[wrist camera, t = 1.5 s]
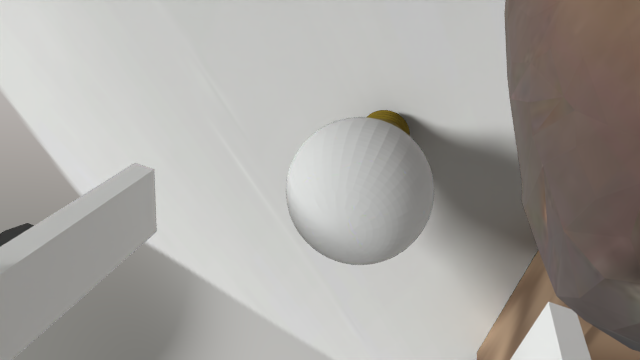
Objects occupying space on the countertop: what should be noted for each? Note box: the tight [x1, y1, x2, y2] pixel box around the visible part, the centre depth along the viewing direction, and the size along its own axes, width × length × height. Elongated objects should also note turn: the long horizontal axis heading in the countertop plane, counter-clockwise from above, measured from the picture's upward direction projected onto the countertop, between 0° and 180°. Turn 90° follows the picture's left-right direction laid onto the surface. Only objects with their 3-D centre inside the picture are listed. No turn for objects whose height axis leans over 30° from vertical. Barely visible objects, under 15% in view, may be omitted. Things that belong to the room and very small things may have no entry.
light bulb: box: [286, 110, 434, 265], centre depth 19 cm, size 6×6×10 cm
